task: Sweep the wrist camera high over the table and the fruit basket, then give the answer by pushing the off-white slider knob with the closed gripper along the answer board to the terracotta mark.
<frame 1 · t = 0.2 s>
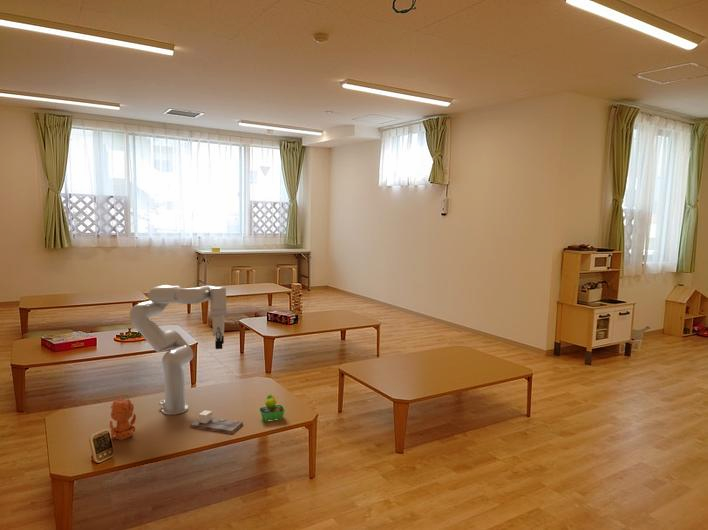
hand: (219, 346, 232), 36 cm above the table, tool pointing down, fingers open, 9 cm apart
fruit basket: (271, 418, 234), on the table
orange figurine: (122, 436, 212), on the table
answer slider: (205, 416, 225), point 4 cm above the table, slide at 0.0 cm
answer board: (216, 426, 224), on the table
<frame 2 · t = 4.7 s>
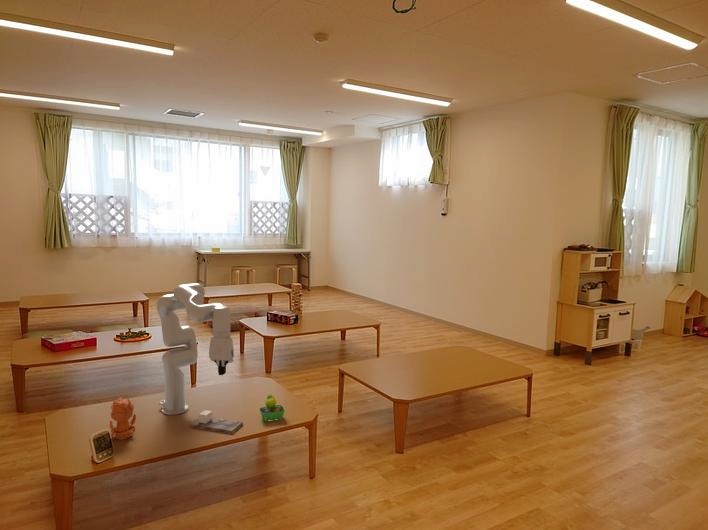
hand: (222, 374, 211), 29 cm above the table, tool pointing down, fingers closed
nothing on the table moved.
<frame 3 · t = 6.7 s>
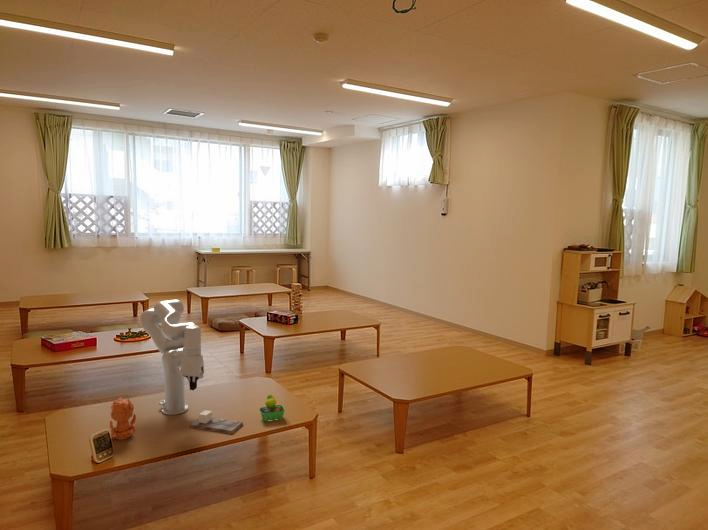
hand: (193, 389, 226), 17 cm above the table, tool pointing down, fingers closed
nothing on the table moved.
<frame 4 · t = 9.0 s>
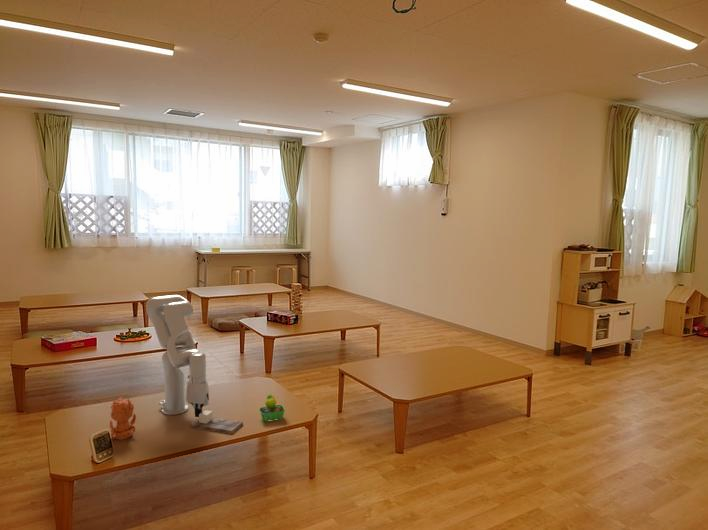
hand: (198, 415, 226), 4 cm above the table, tool pointing down, fingers closed
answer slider: (205, 416, 225), point 4 cm above the table, slide at 0.2 cm, touching gripper
everything else where it was.
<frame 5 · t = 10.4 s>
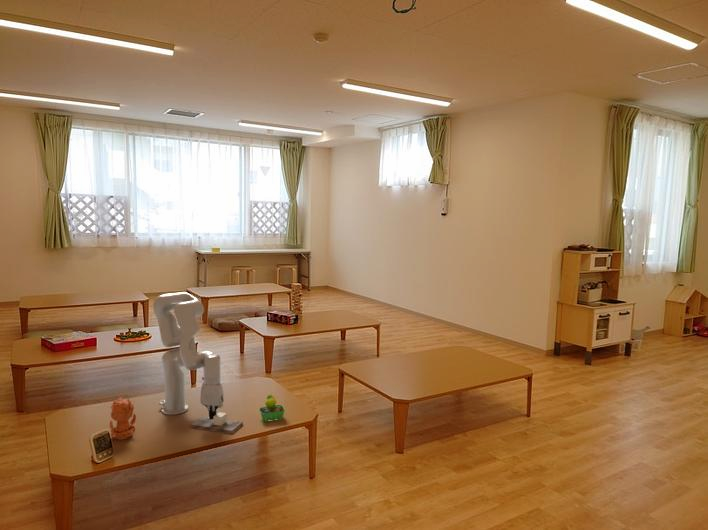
hand: (212, 418, 224), 4 cm above the table, tool pointing down, fingers closed
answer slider: (220, 418, 223), point 4 cm above the table, slide at 7.9 cm, touching gripper
everything else where it was.
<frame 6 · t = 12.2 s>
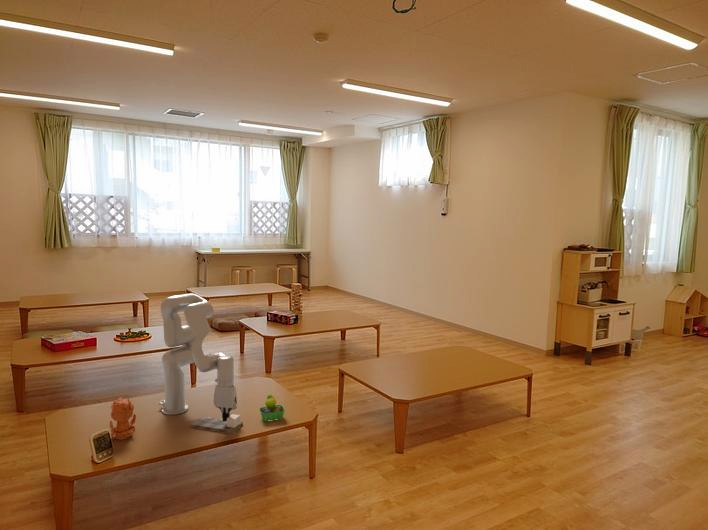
hand: (225, 420, 223), 4 cm above the table, tool pointing down, fingers closed
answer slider: (233, 420, 222), point 4 cm above the table, slide at 15.0 cm, touching gripper
everything else where it was.
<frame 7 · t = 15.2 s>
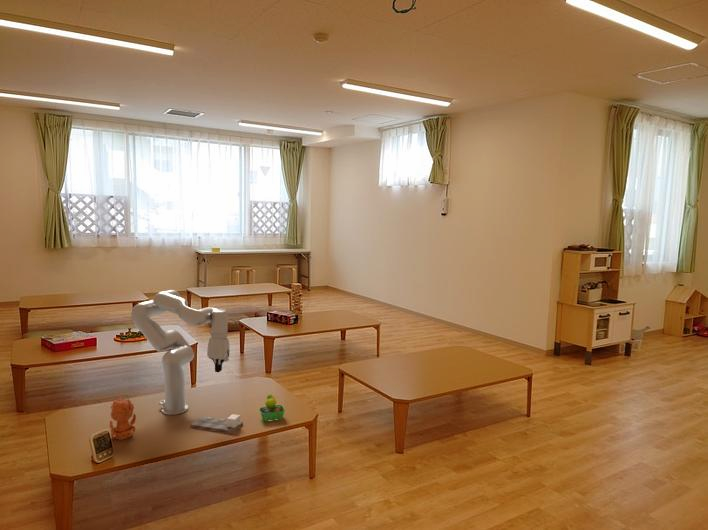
hand: (218, 371, 232), 23 cm above the table, tool pointing down, fingers closed
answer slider: (233, 420, 222), point 4 cm above the table, slide at 15.0 cm
everything else where it was.
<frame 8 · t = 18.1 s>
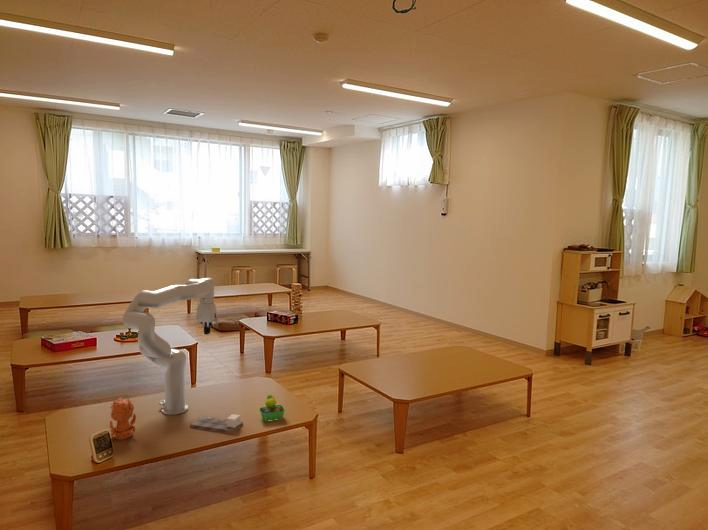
hand: (207, 333, 258), 35 cm above the table, tool pointing down, fingers closed
nothing on the table moved.
at the end: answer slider slide at 15.0 cm; fruit basket moved 0.3 cm from its start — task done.
